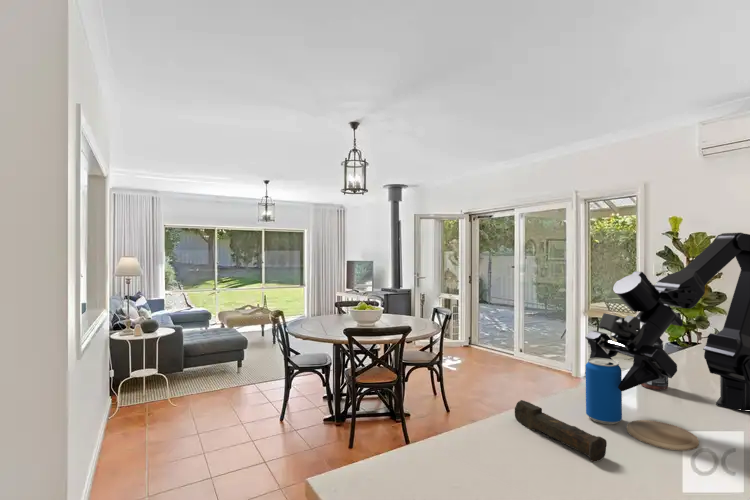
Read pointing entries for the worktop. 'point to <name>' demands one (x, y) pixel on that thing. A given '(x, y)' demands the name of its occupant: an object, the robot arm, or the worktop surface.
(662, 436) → the coaster
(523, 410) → the hand tool
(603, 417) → the beverage can
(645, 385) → the supplement bottle
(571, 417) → the worktop surface
